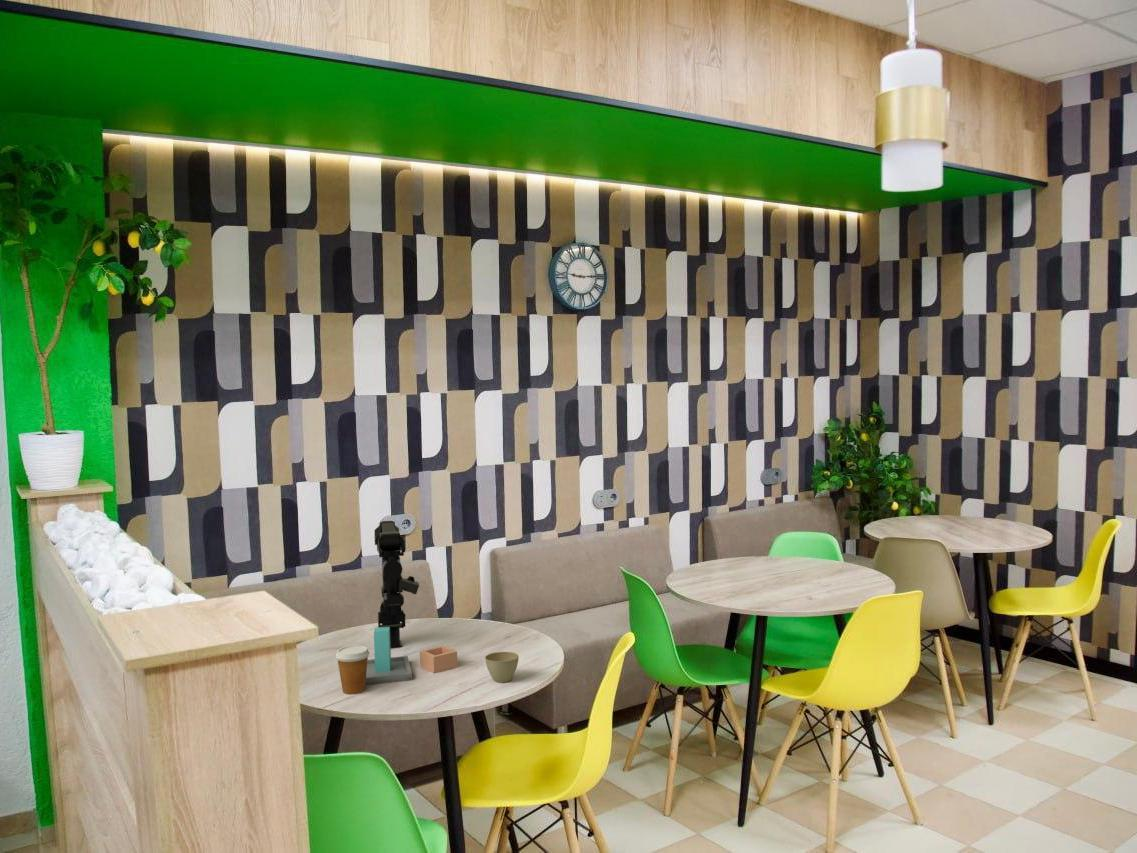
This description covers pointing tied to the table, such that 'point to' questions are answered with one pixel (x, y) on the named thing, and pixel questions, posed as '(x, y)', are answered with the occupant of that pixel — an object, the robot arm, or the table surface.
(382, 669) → the teal block
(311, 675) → the table surface
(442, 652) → the holder
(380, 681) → the tray
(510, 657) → the flower pot
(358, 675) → the disposable coffee cup
